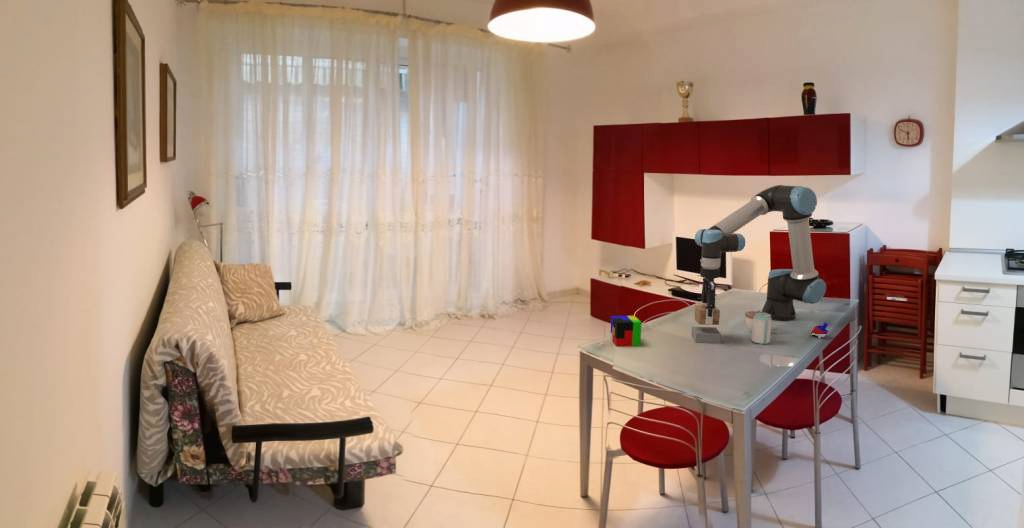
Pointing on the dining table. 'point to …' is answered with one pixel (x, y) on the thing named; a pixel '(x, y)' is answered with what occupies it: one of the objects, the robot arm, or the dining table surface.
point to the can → (761, 328)
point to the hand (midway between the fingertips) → (706, 321)
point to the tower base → (706, 335)
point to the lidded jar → (750, 319)
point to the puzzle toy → (625, 331)
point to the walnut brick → (701, 315)
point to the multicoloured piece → (820, 329)
